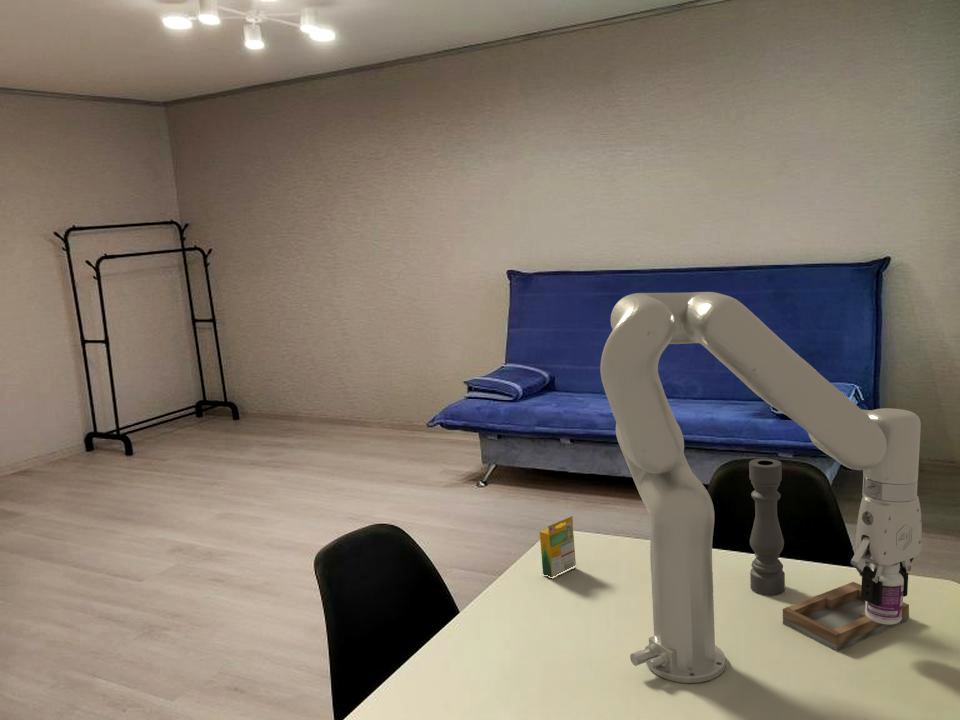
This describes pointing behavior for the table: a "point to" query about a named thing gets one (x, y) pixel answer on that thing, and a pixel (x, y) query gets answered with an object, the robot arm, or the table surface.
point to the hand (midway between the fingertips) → (884, 596)
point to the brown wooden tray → (836, 617)
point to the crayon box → (558, 547)
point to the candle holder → (766, 528)
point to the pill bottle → (888, 597)
